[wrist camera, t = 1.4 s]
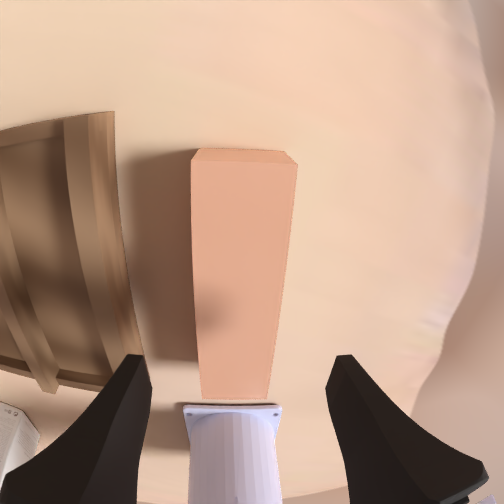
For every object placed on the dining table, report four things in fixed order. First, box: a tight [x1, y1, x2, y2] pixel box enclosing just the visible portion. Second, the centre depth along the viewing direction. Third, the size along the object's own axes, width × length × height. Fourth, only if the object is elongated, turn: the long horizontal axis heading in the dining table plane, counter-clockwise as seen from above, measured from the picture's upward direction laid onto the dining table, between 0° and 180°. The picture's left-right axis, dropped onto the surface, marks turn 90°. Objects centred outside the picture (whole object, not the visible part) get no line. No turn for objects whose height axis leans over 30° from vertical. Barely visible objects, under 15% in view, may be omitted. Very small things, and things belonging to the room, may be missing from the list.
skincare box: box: [0, 402, 40, 490], centre depth 20 cm, size 6×4×12 cm
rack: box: [0, 111, 150, 394], centre depth 15 cm, size 18×16×3 cm
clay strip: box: [191, 148, 298, 400], centre depth 16 cm, size 14×4×4 cm, turn 176°
